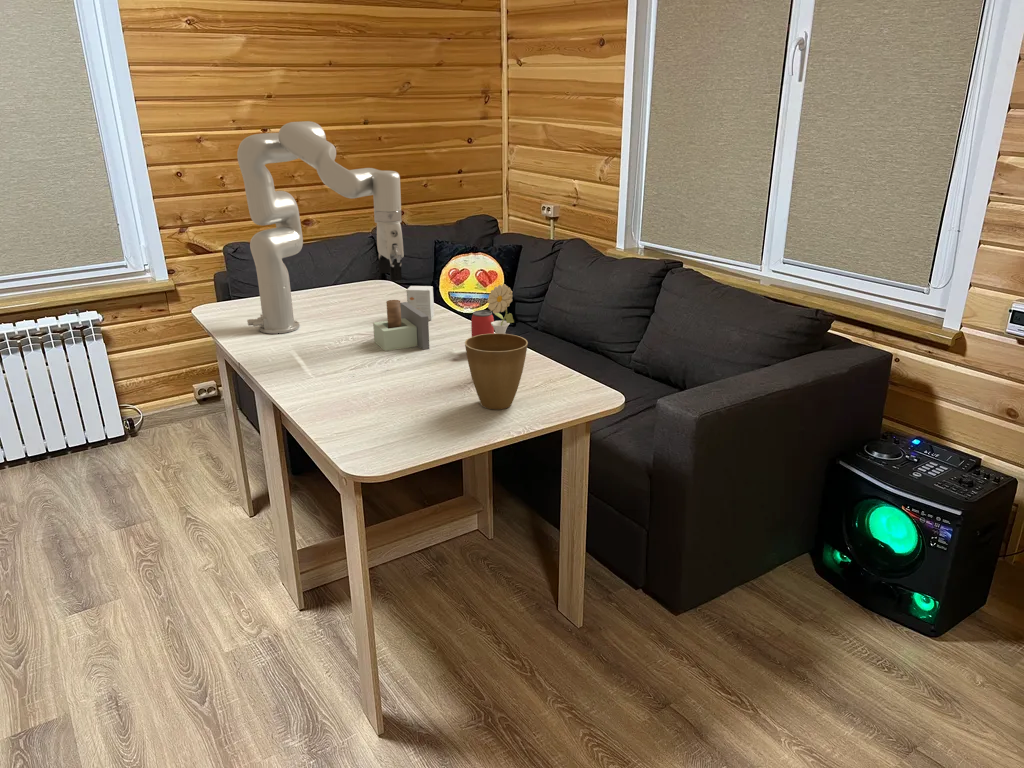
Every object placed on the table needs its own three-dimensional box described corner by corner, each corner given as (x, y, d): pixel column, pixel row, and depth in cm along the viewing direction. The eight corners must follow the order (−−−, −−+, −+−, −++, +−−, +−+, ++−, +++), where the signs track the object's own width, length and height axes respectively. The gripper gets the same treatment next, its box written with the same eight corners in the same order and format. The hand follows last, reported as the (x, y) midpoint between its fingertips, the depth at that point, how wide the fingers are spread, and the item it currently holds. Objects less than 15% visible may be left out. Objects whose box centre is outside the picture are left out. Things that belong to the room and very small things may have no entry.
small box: (434, 316, 255) (433, 285, 251) (431, 320, 250) (430, 290, 246) (411, 315, 256) (410, 285, 252) (407, 320, 251) (406, 289, 247)
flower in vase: (473, 368, 207) (471, 279, 198) (511, 362, 211) (511, 275, 202) (491, 383, 196) (490, 290, 187) (530, 377, 200) (531, 285, 191)
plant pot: (535, 411, 178) (535, 348, 173) (474, 419, 174) (473, 354, 169) (517, 389, 192) (517, 330, 186) (460, 396, 188) (458, 335, 182)
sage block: (385, 351, 217) (383, 331, 215) (374, 341, 225) (373, 322, 223) (417, 346, 221) (416, 326, 219) (405, 337, 230) (404, 318, 227)
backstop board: (356, 364, 210) (353, 326, 206) (338, 346, 225) (335, 310, 221) (429, 352, 219) (428, 316, 215) (408, 336, 234) (406, 301, 230)
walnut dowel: (391, 343, 220) (389, 303, 216) (386, 339, 224) (384, 300, 219) (404, 341, 222) (402, 302, 218) (399, 337, 225) (397, 299, 221)
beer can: (498, 351, 220) (498, 312, 215) (483, 357, 215) (482, 317, 211) (483, 347, 224) (482, 308, 220) (467, 352, 219) (466, 312, 215)
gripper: (411, 220, 204) (413, 282, 211) (390, 211, 218) (392, 269, 225) (385, 222, 201) (387, 284, 207) (365, 212, 215) (368, 271, 221)
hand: (390, 276), depth 216 cm, fingers open, 9 cm apart
